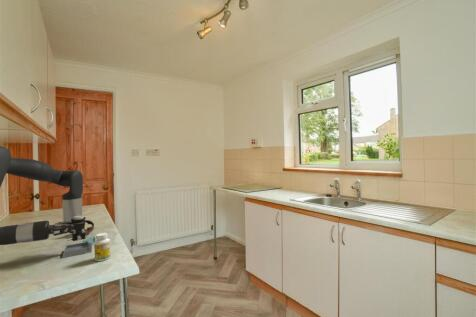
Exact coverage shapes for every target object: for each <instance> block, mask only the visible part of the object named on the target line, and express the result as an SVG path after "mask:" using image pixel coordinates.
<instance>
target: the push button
mask: <svg viewBox="0 0 476 317" xmlns="http://www.w3.org/2000/svg"><path fill="white" fill-rule="evenodd" d="M85 220H87V219H86V217H85V216H84V215H79V216H74V217H73V219H71V221H72V223H73V225H74V224H82V223H83V222H85ZM85 223H86V222H85ZM86 239H87V235H86V234H85V232H84V229H78V230H76V231H75V230H74V232H73V234H72V233H71V236H70V237H67V241H72V242H76V241H81V240H82V241H83V240H86Z"/></svg>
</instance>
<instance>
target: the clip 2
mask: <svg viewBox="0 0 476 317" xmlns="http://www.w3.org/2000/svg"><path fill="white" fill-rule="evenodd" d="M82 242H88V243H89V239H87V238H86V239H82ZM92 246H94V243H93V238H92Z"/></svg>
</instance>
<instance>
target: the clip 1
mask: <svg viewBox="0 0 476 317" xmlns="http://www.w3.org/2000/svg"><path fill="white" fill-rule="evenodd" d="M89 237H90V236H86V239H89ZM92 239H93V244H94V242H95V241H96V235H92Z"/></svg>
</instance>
